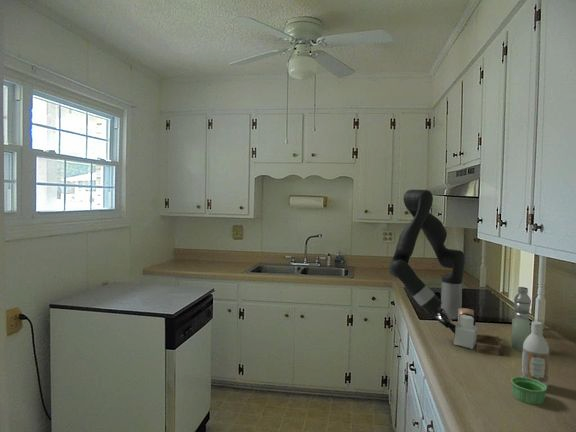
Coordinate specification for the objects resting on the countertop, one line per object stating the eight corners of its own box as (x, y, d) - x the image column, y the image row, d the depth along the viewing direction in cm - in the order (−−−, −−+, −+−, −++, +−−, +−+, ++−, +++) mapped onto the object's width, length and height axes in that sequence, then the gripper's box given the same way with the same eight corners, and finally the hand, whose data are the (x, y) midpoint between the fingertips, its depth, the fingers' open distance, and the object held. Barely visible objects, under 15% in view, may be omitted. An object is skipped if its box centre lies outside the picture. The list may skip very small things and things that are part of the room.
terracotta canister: (462, 332, 172) (462, 307, 171) (475, 336, 167) (476, 310, 166) (454, 334, 168) (455, 309, 168) (468, 339, 163) (469, 313, 163)
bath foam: (523, 388, 121) (526, 324, 120) (519, 378, 128) (522, 318, 127) (549, 392, 119) (553, 327, 118) (544, 382, 125) (547, 320, 124)
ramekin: (513, 402, 113) (514, 387, 113) (508, 388, 121) (508, 374, 121) (549, 408, 110) (550, 393, 110) (541, 394, 118) (542, 379, 118)
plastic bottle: (514, 334, 169) (516, 288, 168) (511, 329, 176) (513, 285, 175) (531, 336, 167) (533, 290, 166) (527, 331, 174) (529, 287, 173)
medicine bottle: (457, 339, 162) (459, 310, 161) (476, 343, 158) (479, 314, 157) (453, 344, 156) (456, 314, 155) (473, 349, 152) (476, 319, 151)
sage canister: (514, 344, 158) (516, 317, 158) (531, 348, 154) (532, 321, 153) (508, 347, 155) (509, 319, 154) (524, 352, 150) (526, 323, 150)
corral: (476, 351, 150) (477, 344, 150) (474, 340, 162) (474, 333, 162) (502, 355, 146) (502, 347, 146) (498, 343, 159) (498, 336, 158)
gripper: (433, 297, 155) (466, 332, 151) (434, 290, 167) (465, 322, 163) (418, 308, 157) (450, 344, 153) (421, 301, 169) (450, 333, 165)
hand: (458, 333), depth 158 cm, fingers closed
